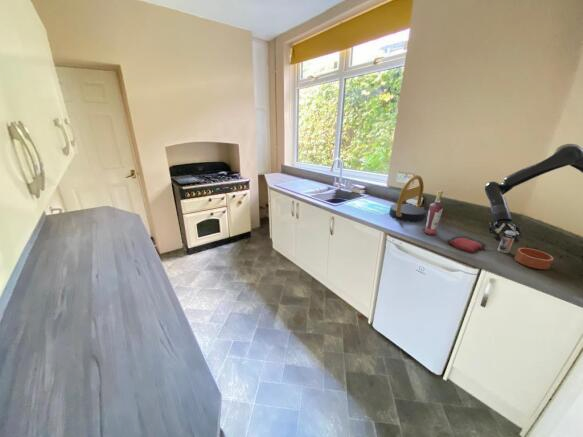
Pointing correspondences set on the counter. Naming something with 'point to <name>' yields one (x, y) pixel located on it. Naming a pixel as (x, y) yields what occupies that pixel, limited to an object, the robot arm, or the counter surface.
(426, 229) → the liquor
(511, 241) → the beer can
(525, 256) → the bowl
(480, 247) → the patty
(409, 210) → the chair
